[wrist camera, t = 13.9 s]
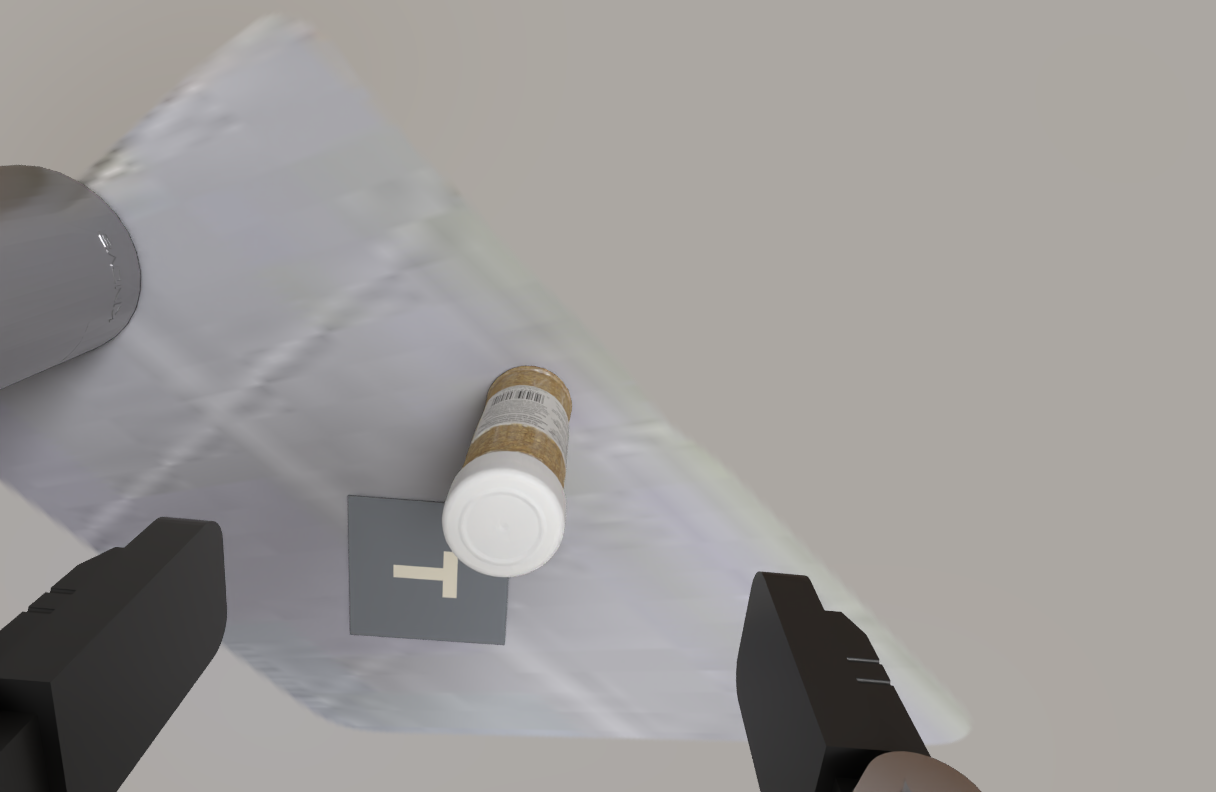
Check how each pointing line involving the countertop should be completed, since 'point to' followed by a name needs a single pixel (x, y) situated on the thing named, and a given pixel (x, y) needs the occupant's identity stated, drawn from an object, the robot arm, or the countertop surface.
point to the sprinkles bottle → (513, 477)
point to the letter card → (416, 577)
